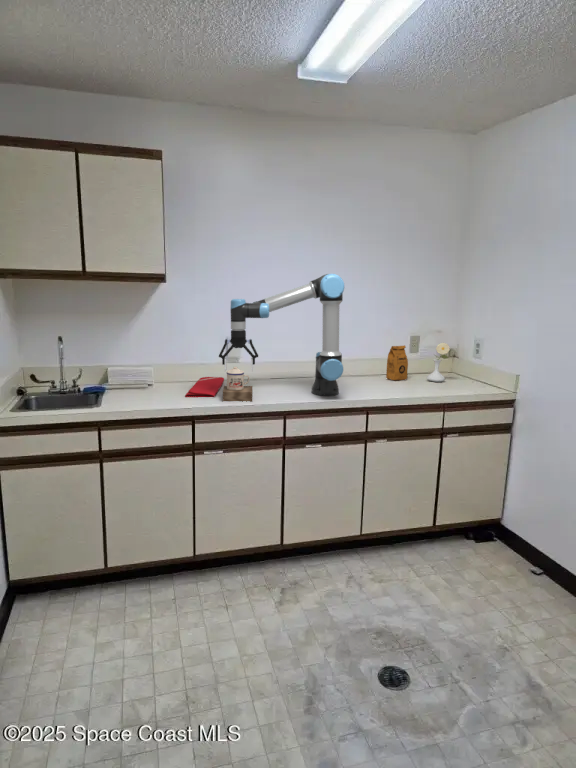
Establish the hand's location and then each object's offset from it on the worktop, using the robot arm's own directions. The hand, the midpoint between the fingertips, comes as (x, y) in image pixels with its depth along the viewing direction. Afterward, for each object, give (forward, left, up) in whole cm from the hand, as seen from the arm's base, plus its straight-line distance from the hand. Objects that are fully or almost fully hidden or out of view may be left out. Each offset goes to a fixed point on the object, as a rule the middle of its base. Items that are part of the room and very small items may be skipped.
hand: (238, 370), depth 264 cm
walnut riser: (0, 0, -15) cm, 15 cm away
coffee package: (-100, -54, -15) cm, 114 cm away
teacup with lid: (0, 0, -10) cm, 10 cm away
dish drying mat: (+19, -21, -15) cm, 32 cm away
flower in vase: (-125, -50, -15) cm, 135 cm away
